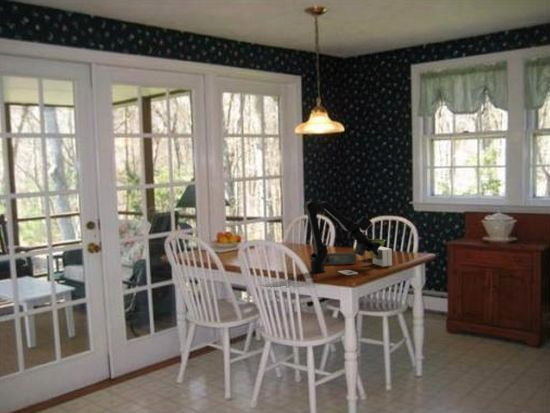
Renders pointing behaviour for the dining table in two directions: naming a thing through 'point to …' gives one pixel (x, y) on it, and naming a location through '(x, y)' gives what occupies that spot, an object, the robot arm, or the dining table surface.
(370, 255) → the amber button
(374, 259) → the console
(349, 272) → the card
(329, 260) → the beverage carton
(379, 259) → the charcoal button
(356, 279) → the dining table surface
